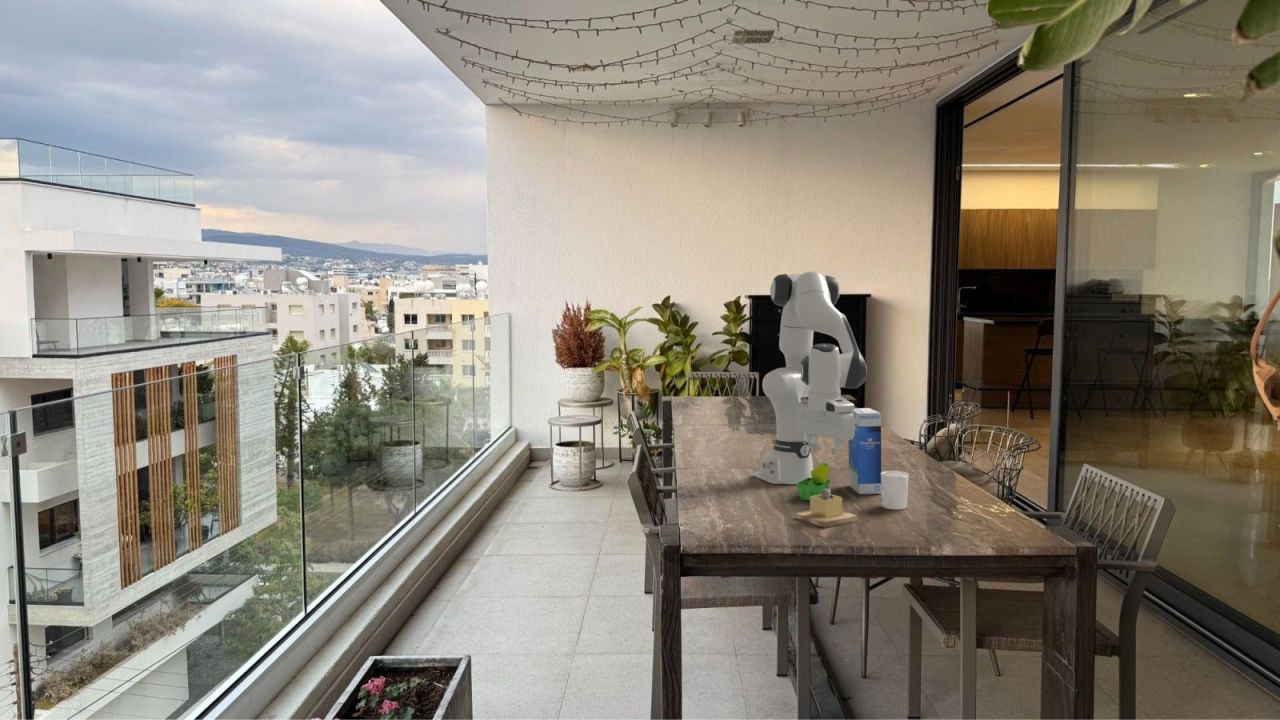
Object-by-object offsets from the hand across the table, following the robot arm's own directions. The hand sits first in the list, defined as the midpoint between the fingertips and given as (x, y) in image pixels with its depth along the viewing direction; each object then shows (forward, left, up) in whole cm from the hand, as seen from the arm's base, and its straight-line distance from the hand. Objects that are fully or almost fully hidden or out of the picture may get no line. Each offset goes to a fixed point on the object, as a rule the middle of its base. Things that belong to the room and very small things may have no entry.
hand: (824, 451), depth 233 cm
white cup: (+1, +26, -20) cm, 33 cm away
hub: (0, 0, -18) cm, 18 cm away
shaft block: (0, 0, -19) cm, 19 cm away
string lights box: (-20, +35, -20) cm, 45 cm away
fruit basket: (-21, +15, -20) cm, 32 cm away
